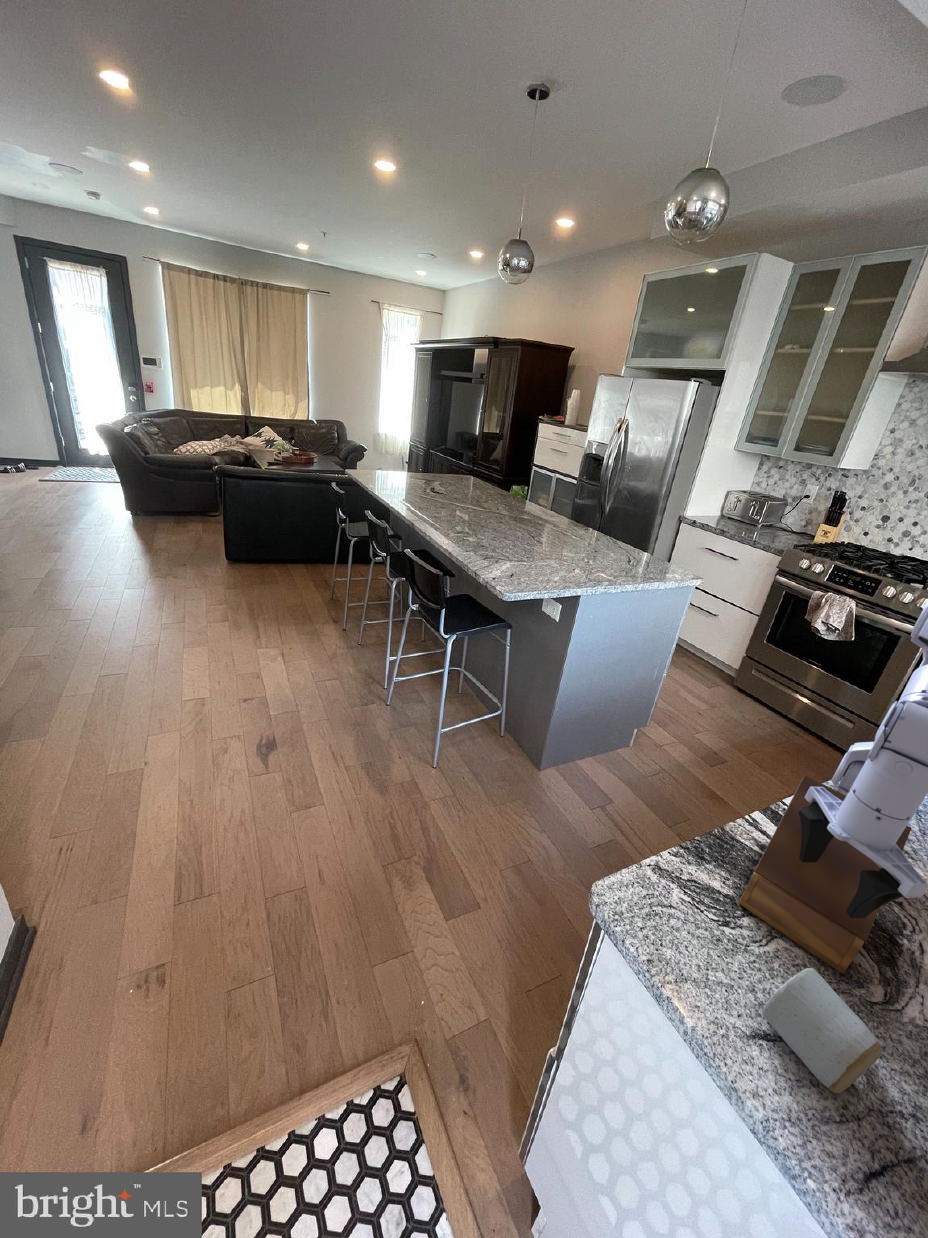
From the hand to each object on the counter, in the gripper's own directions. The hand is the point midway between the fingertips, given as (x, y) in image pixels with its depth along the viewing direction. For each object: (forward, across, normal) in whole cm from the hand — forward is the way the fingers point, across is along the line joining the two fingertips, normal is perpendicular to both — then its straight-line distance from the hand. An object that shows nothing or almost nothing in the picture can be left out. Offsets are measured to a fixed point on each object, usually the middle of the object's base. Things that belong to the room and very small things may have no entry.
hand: (830, 886), depth 62 cm
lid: (0, -5, +4) cm, 7 cm away
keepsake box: (+10, -6, +5) cm, 13 cm away
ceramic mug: (+10, +11, -7) cm, 17 cm away
